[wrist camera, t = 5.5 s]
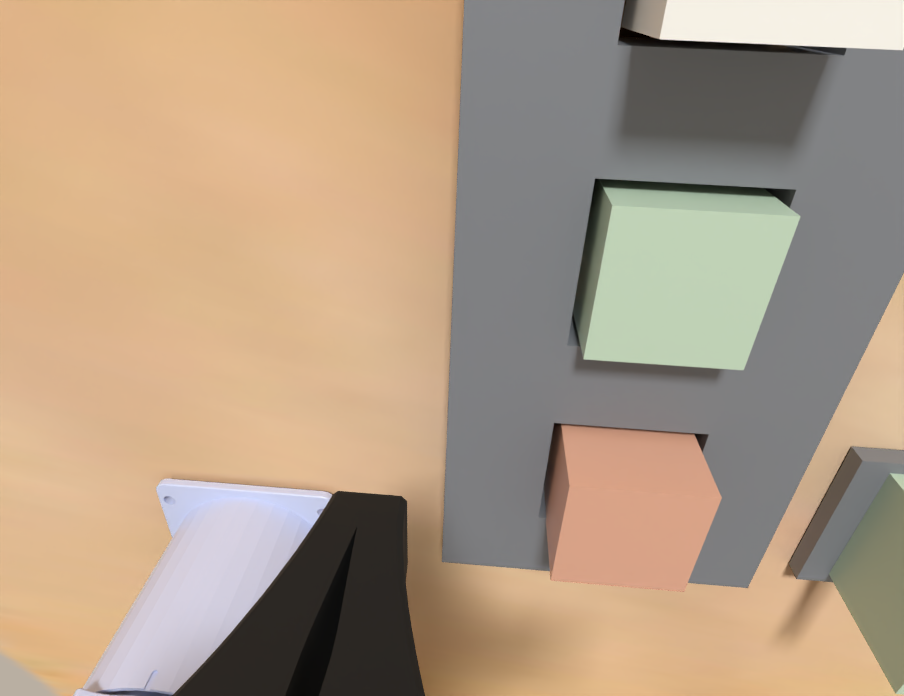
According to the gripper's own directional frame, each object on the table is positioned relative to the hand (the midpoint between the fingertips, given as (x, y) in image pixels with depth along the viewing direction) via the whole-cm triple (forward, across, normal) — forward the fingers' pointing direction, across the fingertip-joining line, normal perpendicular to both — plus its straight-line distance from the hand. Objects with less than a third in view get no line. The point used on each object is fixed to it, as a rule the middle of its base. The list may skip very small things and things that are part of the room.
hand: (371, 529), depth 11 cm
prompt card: (+10, -18, +9) cm, 23 cm away
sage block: (+10, -7, -3) cm, 13 cm away
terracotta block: (+9, -7, +5) cm, 13 cm away
